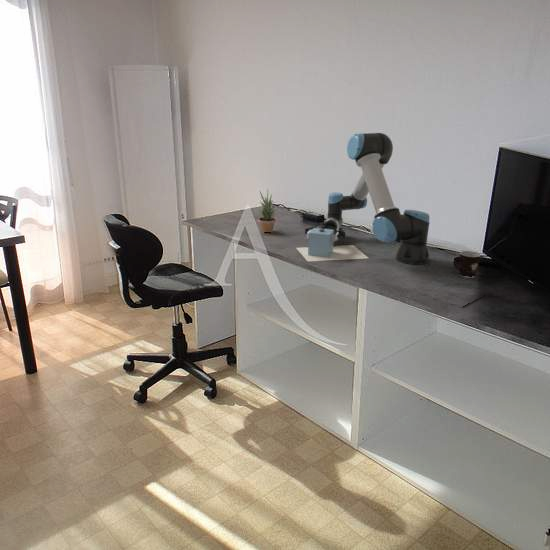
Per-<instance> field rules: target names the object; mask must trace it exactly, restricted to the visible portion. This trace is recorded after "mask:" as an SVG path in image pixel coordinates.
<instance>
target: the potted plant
mask: <svg viewBox="0 0 550 550" xmlns="http://www.w3.org/2000/svg"><path fill="white" fill-rule="evenodd" d="M266 191H267V193H266V196H263V194H262V192H261V191H259V194H260V196H261V200H262V201H261V200H260V204H261V206H262V208H260V209H258V210H259V212H260V213H261V215H262V217H258V219H257V220H258V223H259V226H260V230H261V233H263V232H271V233H272V232H273V230H274V227H275V224H276V218H275V217H274V215H275V212H276V211H275V206H276V204H274V205H273V202H274V200H272V196H273V194H272V193H271V194H270V197H269V188H267V190H266ZM261 209H262V210H261Z"/></svg>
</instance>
